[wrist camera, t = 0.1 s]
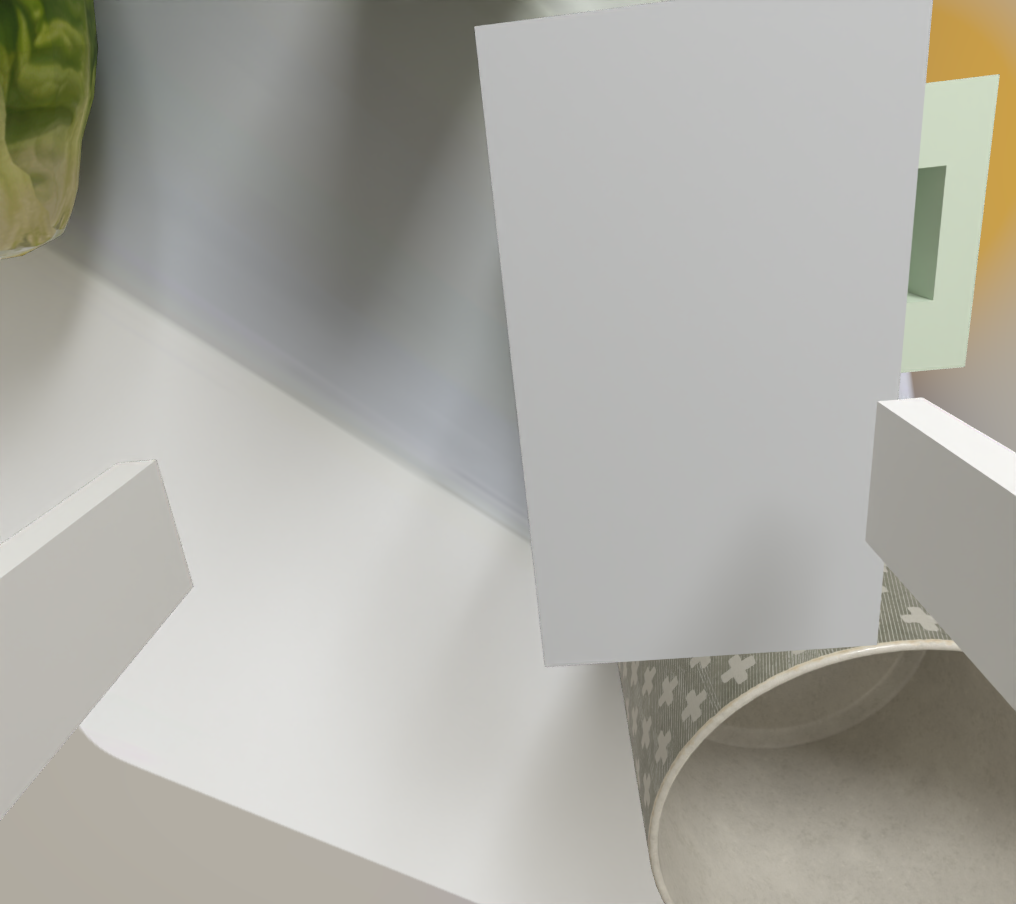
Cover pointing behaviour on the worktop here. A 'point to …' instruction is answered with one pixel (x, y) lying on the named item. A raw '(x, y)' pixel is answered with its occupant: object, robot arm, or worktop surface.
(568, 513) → the socket station
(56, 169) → the lettuce
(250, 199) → the worktop surface
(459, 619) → the worktop surface
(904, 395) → the worktop surface
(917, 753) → the planter
